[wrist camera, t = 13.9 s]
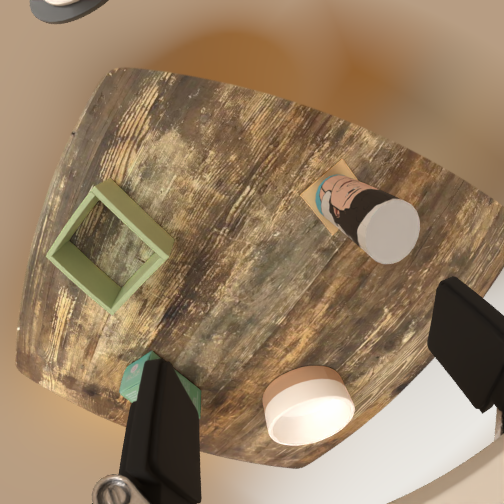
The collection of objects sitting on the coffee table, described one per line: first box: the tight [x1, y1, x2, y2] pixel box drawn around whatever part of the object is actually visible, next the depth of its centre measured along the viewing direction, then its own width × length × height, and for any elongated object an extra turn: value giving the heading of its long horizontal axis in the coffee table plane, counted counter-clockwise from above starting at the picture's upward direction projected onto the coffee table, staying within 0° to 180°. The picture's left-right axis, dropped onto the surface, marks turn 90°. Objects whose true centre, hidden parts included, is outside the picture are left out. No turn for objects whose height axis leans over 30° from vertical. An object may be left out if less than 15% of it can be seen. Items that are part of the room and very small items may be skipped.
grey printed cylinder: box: [315, 174, 420, 264], centre depth 34 cm, size 7×7×15 cm
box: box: [119, 351, 201, 419], centre depth 47 cm, size 7×14×8 cm, turn 35°
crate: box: [46, 178, 175, 316], centre depth 37 cm, size 13×13×6 cm
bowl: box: [262, 365, 355, 446], centre depth 53 cm, size 17×17×8 cm
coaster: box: [300, 159, 358, 235], centre depth 41 cm, size 8×8×1 cm
